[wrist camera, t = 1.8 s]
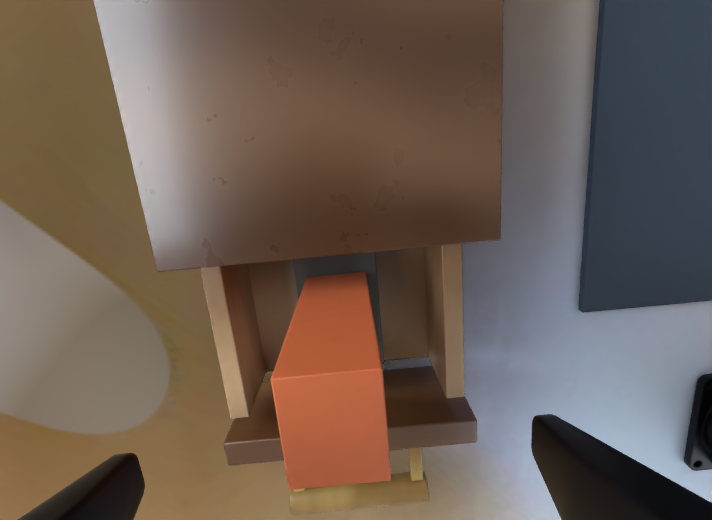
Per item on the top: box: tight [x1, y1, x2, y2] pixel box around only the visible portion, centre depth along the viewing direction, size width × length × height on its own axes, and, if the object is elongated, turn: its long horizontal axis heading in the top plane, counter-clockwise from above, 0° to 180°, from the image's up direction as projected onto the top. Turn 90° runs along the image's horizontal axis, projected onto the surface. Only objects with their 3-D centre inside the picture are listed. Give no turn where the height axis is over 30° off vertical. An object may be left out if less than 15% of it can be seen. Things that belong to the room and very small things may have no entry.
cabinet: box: [93, 0, 503, 272], centre depth 14 cm, size 14×12×6 cm
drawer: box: [200, 244, 477, 515], centre depth 17 cm, size 18×11×5 cm, turn 5°
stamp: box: [271, 252, 391, 490], centre depth 13 cm, size 6×4×10 cm, turn 5°
